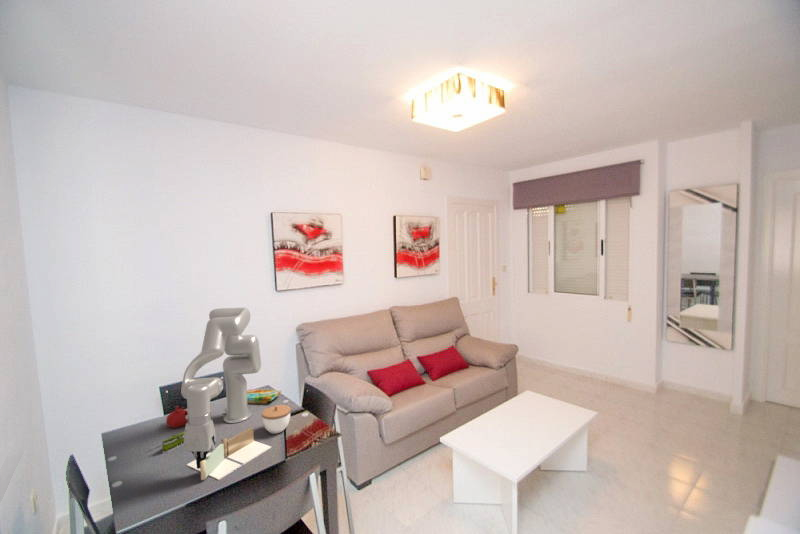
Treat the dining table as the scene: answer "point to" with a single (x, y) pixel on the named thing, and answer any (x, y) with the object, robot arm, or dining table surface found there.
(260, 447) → the card
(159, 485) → the dining table surface
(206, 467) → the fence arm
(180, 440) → the green slotted rack
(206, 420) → the robot arm
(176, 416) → the red teapot
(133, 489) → the dining table surface
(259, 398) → the puzzle game
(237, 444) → the base
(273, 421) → the lidded bowl
